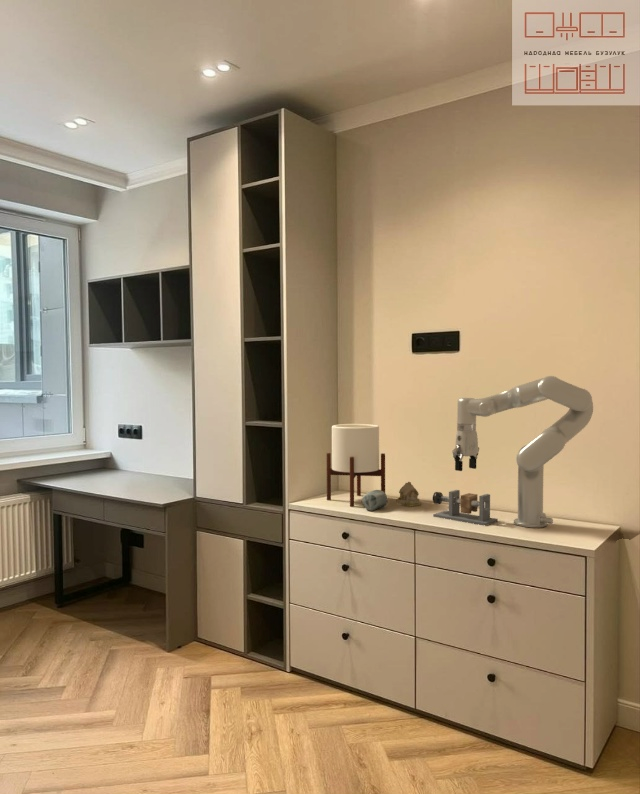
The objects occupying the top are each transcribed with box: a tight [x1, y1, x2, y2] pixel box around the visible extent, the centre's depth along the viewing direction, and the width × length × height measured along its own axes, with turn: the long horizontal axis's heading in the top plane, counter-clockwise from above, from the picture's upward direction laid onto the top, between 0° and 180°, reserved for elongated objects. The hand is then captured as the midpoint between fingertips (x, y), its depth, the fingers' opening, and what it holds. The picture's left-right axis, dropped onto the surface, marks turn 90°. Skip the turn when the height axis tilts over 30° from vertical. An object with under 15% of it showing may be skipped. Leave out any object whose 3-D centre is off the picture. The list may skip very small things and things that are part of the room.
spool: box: [361, 489, 388, 512], centre depth 276 cm, size 14×10×10 cm
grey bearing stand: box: [432, 489, 498, 527], centre depth 255 cm, size 24×10×11 cm, turn 47°
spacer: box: [460, 492, 478, 515], centre depth 254 cm, size 4×7×7 cm, turn 137°
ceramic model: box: [396, 481, 421, 507], centre depth 288 cm, size 14×11×10 cm
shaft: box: [432, 491, 479, 508], centre depth 258 cm, size 20×5×5 cm, turn 47°
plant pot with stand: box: [326, 423, 386, 508], centre depth 294 cm, size 22×22×36 cm
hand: (465, 469), depth 255 cm, fingers open, 9 cm apart
